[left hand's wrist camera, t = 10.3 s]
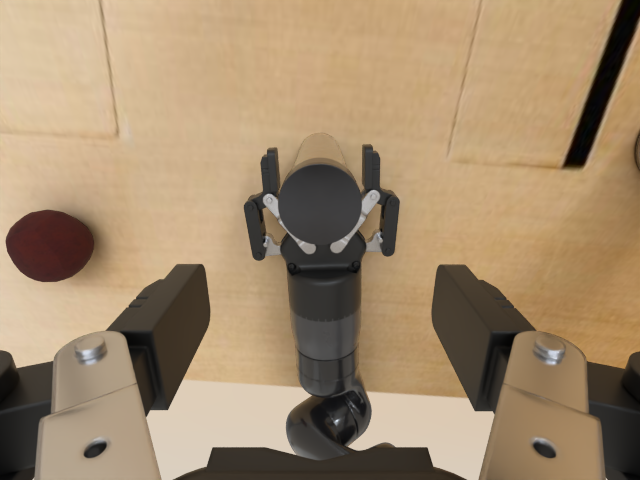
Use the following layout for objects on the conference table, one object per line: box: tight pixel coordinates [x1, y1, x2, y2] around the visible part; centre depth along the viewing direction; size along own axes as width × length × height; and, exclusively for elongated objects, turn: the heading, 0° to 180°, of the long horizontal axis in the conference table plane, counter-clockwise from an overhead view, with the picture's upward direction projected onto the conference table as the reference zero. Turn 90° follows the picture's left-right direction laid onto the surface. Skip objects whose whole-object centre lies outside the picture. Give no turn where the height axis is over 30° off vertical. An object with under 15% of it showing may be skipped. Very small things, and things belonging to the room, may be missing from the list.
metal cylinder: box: [293, 133, 347, 168], centre depth 30 cm, size 4×4×20 cm
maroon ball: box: [6, 210, 94, 282], centre depth 39 cm, size 7×8×7 cm
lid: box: [278, 158, 362, 245], centre depth 21 cm, size 5×5×2 cm
